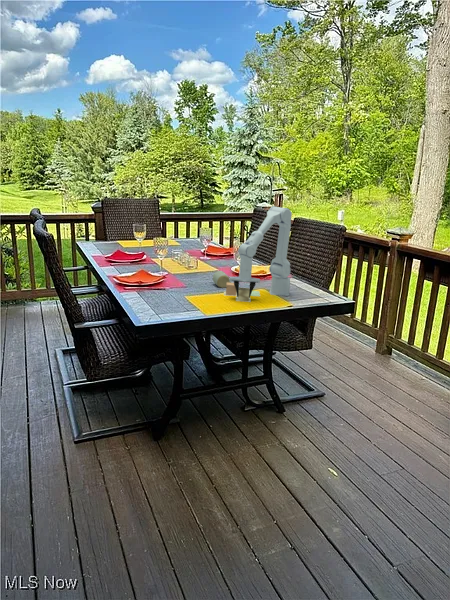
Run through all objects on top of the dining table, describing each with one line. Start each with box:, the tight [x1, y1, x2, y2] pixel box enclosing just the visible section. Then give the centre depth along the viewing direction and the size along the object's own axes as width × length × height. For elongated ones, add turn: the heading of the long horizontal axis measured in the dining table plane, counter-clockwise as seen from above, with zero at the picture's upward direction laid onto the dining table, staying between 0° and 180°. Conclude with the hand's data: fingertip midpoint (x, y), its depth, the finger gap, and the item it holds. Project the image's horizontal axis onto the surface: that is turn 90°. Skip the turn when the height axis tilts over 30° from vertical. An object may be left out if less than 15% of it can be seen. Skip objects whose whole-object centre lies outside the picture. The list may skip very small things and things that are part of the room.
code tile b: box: [223, 290, 237, 297], centre depth 217 cm, size 7×7×1 cm
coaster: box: [250, 290, 261, 297], centre depth 220 cm, size 9×9×1 cm
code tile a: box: [235, 296, 251, 303], centre depth 209 cm, size 7×7×1 cm
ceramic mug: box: [212, 270, 233, 289], centre depth 230 cm, size 11×8×8 cm
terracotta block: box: [225, 282, 236, 296], centre depth 216 cm, size 5×5×5 cm
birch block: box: [238, 286, 250, 302], centre depth 209 cm, size 5×5×5 cm
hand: (243, 296), depth 209 cm, fingers closed on birch block, 5 cm apart
